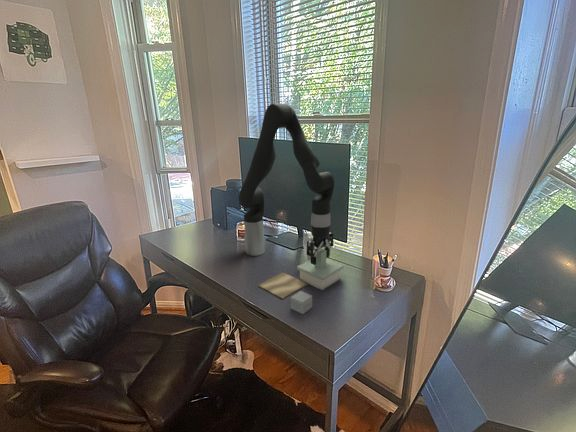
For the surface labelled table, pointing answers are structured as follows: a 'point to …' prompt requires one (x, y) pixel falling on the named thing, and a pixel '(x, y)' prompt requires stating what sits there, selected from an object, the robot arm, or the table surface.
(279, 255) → the table surface
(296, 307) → the small box
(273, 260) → the table surface
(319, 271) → the lid
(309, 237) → the beer glass
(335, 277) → the open square box
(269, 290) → the mat
